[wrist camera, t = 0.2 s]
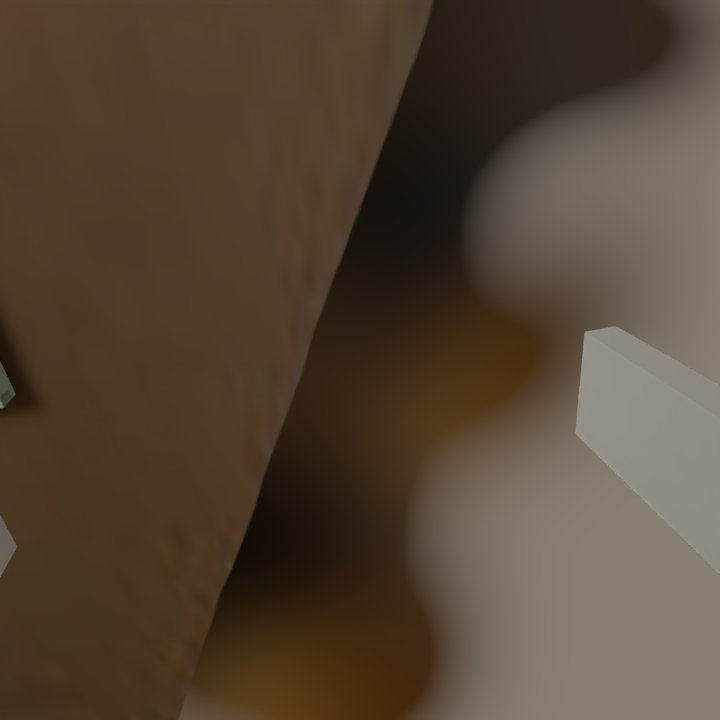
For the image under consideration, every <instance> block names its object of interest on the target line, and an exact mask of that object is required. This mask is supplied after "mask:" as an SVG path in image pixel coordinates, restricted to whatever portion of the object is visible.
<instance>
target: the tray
mask: <svg viewBox="0 0 720 720" xmlns="http://www.w3.org/2000/svg"><path fill="white" fill-rule="evenodd" d="M14 395H15V392H14V389H13V387H12V385H11V383H10V381H9V379H8V377H7V374H6V372H5V370H4V368H3V366H2V364H1V362H0V408H4V407H5V406H6V405H7V403H8V402H9V401H10V400H11V399H12V398H13V397H14Z"/></svg>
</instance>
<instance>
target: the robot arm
mask: <svg viewBox="0 0 720 720" xmlns="http://www.w3.org/2000/svg"><path fill="white" fill-rule="evenodd" d="M575 434H576V435H577V436H578V437H579V438H580V439H581V440H582V441H583V442H584V443H585V444H586V445H587V446H588V447H589V448H590V449H591V450H593V451H594V452H595V453H596V454H597V455H598V456H599V457H600V458H601V459H602V460H603V461H604V462H605V463H606V464H607V465H608V466H609V467H610V468H611V469H612V470H613V471H614V472H615V473H616V474H617V475H618V476H619V477H620V478H621V479H622V480H623V481H624V482H625V483H626V484H627V485H628V486H629V487H630V488H631V489H632V490H634V492H635V493H637V494H638V495H639V496H640V497H641V498H642V499H643V500H644V501H645V502H646V503H647V504H648V505H649V506H650V507H651V508H652V509H653V510H654V511H655V512H656V513H657V514H658V515H659V516H660V517H661V518H662V519H663V520H664V521H665V522H666V523H667V524H668V525H669V526H670V527H671V528H672V529H673V530H675V532H677V533H678V534H679V535H680V536H681V537H682V538H683V539H684V540H685V541H686V542H687V543H688V544H689V545H690V546H691V547H692V548H693V549H694V550H695V551H696V552H697V553H698V554H699V555H700V556H701V557H702V558H703V559H704V560H705V561H706V562H707V563H708V564H709V565H710V566H711V567H712V568H713V569H714V570H715V571H717V572H718V573H719V574H720V385H718V384H716V383H715V382H713V381H711V380H710V379H708V378H706V377H704V376H702V375H701V374H699V373H697V372H695V371H694V370H692V369H690V368H688V367H687V366H685V365H683V364H681V363H680V362H678V361H676V360H674V359H673V358H671V357H669V356H667V355H666V354H664V353H662V352H660V351H658V350H657V349H655V348H653V347H651V346H650V345H648V344H646V343H644V342H643V341H640V340H639V339H637V338H635V337H634V336H632V335H630V334H629V333H627V332H625V331H623V330H621V329H620V328H618V327H609V328H604V329H599V330H593V331H587V332H585V335H584V345H583V357H582V368H581V377H580V388H579V399H578V410H577V420H576V431H575ZM16 548H17V546H16V544H15V543H14V541H13V539H12V537H11V535H10V533H9V531H8V529H7V527H6V526H5V524H4V522H3V520H2V518H1V516H0V576H1V574H2V573H3V571H4V569H5V567H6V565H7V564H8V562H9V560H10V558H11V556H12V555H13V553H14V551H15V549H16Z"/></svg>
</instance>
